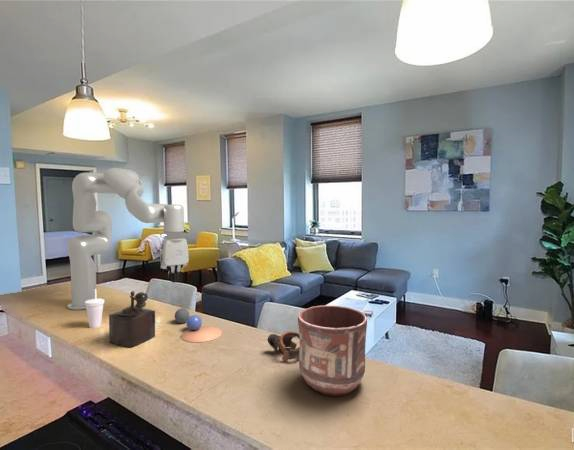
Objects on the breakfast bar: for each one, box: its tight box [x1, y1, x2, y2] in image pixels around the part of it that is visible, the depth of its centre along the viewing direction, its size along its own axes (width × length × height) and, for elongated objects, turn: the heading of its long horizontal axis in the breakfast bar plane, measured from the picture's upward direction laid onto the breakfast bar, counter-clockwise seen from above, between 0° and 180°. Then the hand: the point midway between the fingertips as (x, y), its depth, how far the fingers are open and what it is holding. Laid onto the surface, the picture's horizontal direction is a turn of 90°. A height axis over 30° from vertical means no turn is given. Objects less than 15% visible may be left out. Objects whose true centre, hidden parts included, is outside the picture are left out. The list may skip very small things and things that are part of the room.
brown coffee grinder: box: [108, 290, 156, 348], centre depth 109 cm, size 16×11×18 cm
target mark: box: [180, 326, 223, 343], centre depth 115 cm, size 14×14×1 cm
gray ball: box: [174, 307, 190, 324], centre depth 126 cm, size 6×6×6 cm
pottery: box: [297, 304, 368, 397], centre depth 84 cm, size 18×18×18 cm
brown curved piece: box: [266, 330, 300, 363], centre depth 100 cm, size 12×10×8 cm
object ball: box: [185, 314, 203, 331], centre depth 119 cm, size 6×6×6 cm
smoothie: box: [85, 288, 105, 329], centre depth 121 cm, size 6×6×14 cm
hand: (174, 281), depth 129 cm, fingers closed
